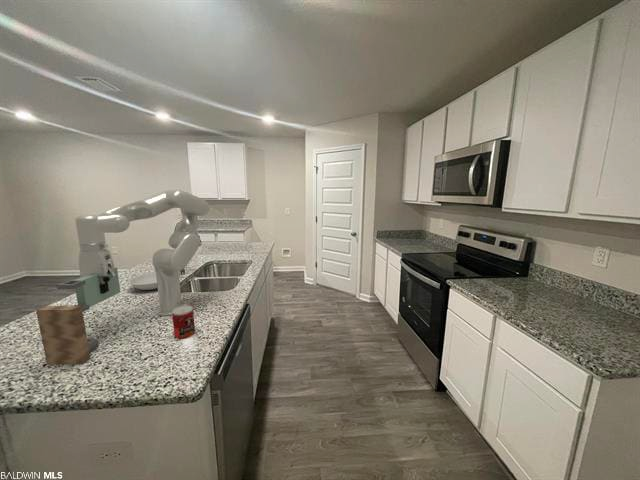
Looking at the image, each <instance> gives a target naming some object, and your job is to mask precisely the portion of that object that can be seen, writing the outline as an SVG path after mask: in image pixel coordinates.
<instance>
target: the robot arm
mask: <svg viewBox="0 0 640 480" xmlns="http://www.w3.org/2000/svg"><path fill="white" fill-rule="evenodd" d="M172 209H180V212H181V221H180V222H179V223H178V224H179V225H178V226H177V227H176V229H175V230H174V232H172V234H171V235H170V236H169V238H168V245H169V247H170V248H171V249H170V248H161V249H158V250H157V251H155V252H154V253H153V255H152V258H151V259H152V266H153V268H154V273H155V272H156V277H157V286H158V288H157V293H158V294H157V295H158V302H159V307H158V308H157V309H156V314H157V315H159V316H161V317H164V316H166V317H167V316H172V311H173V310H174V309H175V308H177V307H180V306H190V302H189V301H186V302H185V301H184V299H182V295H181V294H182V293H181V283H180V273H179V271H182V270H184V269H185V268H186V267H187V266H188V264H189V263H190V262H191V260H192V259H193V257H194V256H195V254H196V253H197V251H198V250H199V247H200V243H201V239H200V237H199V235H197V234H196V232H197V231H198V229H199V227H200V222H199V217H200V216H201V217H203V216H206V215H207V214H208V213H209V212H210V205H209V203H208V202H207V200H206V199H203V198H201V197H199V196H197V195H194V194H192V193H189V192H187V191H185V190H181V189H168V190H165V191H162V192H159V193H156V194H153V195H151V196H150V197H146V198H144V199H141V200H137V201H135V202H134V201H133V202H131V203H128V204H124V205H121V206H118V207H114V208H112V209H110V210H107V211H104V212H102V213H100V214H98V215H97V214H95V215H94V214H89V215H88V214H87V215H86V214H85V215H79V216H77V217H75V226H76V227H75V228H76V232H77V238H78V245H79V250H80V251H79V253H78V268H79V278H82V277H85V276H87V275H97V276H98V277H99V278H100V282H101V284H100V291H101V294H104V293H106V292H108V291H109V287H108V282H109V280H110V279H111V278H113V277H115V276H116V275H115V273H114V272H115V269H114V268H115V264H114V260H113V257H112V254H111V252H110V250H109V249H108V248H109V244H106V237H105V234H106V233H107V234H109V233H110V234H113V233H115V234H116V233H117V234H118V233H123V232H125V231H126V230H128V229H129V227H130V224H131V223H130V222H135V221H140V220H148V219H151V218H154V217H157V216H158V215H160V214H163V213H165V212H168V211H170V210H172ZM198 216H199V217H198ZM108 274H109V276H108ZM104 278H105V279H104Z"/></svg>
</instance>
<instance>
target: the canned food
mask: <svg viewBox="0 0 640 480" xmlns="http://www.w3.org/2000/svg"><path fill="white" fill-rule="evenodd" d="M194 315H195V314H194V307H193V306H191V305H189V306H180V307H177V308H175V309H174V310H173V311H172V315H171V316H172V317H171V318H172V323H173V333H174V337H175V338H176V339H181V340H182V339H183V340H184V339H188V338H190V337H192V336H193V335H194V334H195V332H196V328H195V327H196V326H195V316H194Z"/></svg>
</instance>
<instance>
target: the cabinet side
mask: <svg viewBox="0 0 640 480" xmlns="http://www.w3.org/2000/svg"><path fill="white" fill-rule="evenodd" d="M35 313H36V316H37V317H36V318H37V323H38V328H39V331H40V336H41V342H42V347H43V351H44V355H45V361H46V365H48V366H49V364H50V366H51V364H52V366H53V364H67V365H84V364H85V363H87V362H88V361H90V360H91V359H92V358H91V353H93V352H94V351H95V350H97V349H98V348H99V347H100V344H99V340H98V338H88V335H87V330H86V324H85V318H84V312H83V311H82V306H74V305H45V306H43V307H39V308H37V309H35ZM86 361H87V362H86Z"/></svg>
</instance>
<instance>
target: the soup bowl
mask: <svg viewBox="0 0 640 480" xmlns="http://www.w3.org/2000/svg"><path fill="white" fill-rule="evenodd" d="M127 284H128V285H130V286H132V287H133V288H135V289H138V290H141V291H149V290H151V291H152V290H156V289H158V286H157V277H156V272H155V271H154V272H150V273H149V272H148V273H142V274H140V275H136V276H133V277H131V278H129V279H128V280H127Z"/></svg>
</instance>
